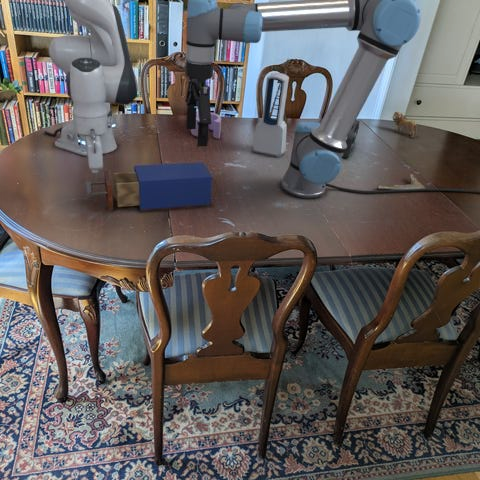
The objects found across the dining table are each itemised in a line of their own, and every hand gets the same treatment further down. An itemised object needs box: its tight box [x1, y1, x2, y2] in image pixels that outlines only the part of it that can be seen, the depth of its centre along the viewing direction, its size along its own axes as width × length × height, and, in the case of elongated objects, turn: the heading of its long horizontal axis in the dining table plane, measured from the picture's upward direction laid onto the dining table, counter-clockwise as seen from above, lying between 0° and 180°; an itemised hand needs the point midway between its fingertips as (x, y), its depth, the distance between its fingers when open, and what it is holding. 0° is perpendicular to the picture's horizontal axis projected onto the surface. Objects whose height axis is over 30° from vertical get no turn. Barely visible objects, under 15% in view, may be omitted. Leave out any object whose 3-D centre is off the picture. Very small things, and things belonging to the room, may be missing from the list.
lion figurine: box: [392, 111, 420, 138], centre depth 220 cm, size 15×5×9 cm, turn 50°
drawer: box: [85, 170, 140, 211], centre depth 139 cm, size 26×10×8 cm, turn 109°
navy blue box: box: [133, 161, 213, 213], centre depth 143 cm, size 22×11×10 cm, turn 109°
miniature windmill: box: [269, 58, 290, 124], centre depth 205 cm, size 9×8×30 cm
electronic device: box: [251, 72, 290, 158], centre depth 178 cm, size 12×8×30 cm, turn 71°
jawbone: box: [376, 173, 426, 190], centre depth 169 cm, size 9×20×2 cm, turn 126°
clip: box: [190, 111, 222, 140], centre depth 199 cm, size 20×12×7 cm, turn 23°
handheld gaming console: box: [342, 119, 361, 159], centre depth 194 cm, size 23×3×10 cm, turn 161°
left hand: (95, 170), depth 133 cm, fingers closed
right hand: (196, 137), depth 137 cm, fingers open, 13 cm apart
